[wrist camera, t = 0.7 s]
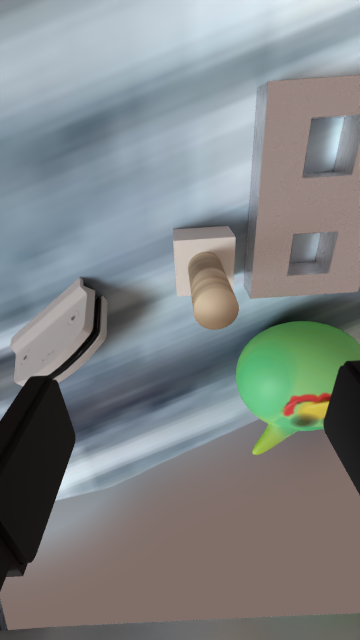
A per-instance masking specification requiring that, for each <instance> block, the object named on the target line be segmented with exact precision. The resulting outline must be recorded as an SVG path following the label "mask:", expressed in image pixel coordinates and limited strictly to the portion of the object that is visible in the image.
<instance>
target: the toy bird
mask: <svg viewBox="0 0 360 640" xmlns="http://www.w3.org/2000/svg"><path fill="white" fill-rule="evenodd" d="M355 360H360V344H359V343H358V342H357V341H356V340H355V339H354V338H352V337H351V336H350V335H348V334H347V333H345V332H344V331H342V330H340V329H338V328H335V327H333V326H330V325H327V324H323V323H318V322H310V321H295V322H287V323H283V324H279V325H276V326H273V327H270V328H268V329H266V330H264V331H262V332H261V333H259V334H258V335H256V336H255V337H254V338H253V339H252V340H250V342H249V343H248V344H247V345H246V346H245V348H244V349H243V351H242V353H241V355H240V357H239V360H238V363H237V368H236V382H237V387H238V391H239V394H240V396H241V398H242V400H243V402H244V403H245V405H246V406H247V407H248V409H249V410H250V411H251V412H252V413H253V414H254V415H256V416H257V417H258V418H260V419H261V420H263V421H264V422H266V423H268V426H267V428H266V429H265V431H264V432H263V434H262V436H261V437H260V438H259V440H258V441H257V443H256V445H255V447H254V448H253V451H252V452H253V454H255V455H259V454H262V453H264V452H266V451H267V450H269V449H271V448H272V447H274V446H275V445H277V444H278V443H280V442H281V441H283V440H284V439H286V438H287V437H289V436H290V435H292V434H293V433H295V432H297V431H310V430H318V429H324V426H323V422H324V418H325V415H326V411H327V408H328V404H329V401H330V398H331V394H332V391H333V387H334V384H335V380H336V377H337V374H338V370H339V368H340V366H343V365H344V363H345V362H346V361H355Z"/></svg>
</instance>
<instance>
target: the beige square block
mask: <svg viewBox="0 0 360 640" xmlns="http://www.w3.org/2000/svg"><path fill="white" fill-rule="evenodd" d="M235 241H236V237H235V235H234V234H233V232H232V231H231V229H230V228H229V226H217V227H201V228H186V229H173V244H174V258H175V273H176V287H177V296H191V289H190V281H189V274H188V265H189V262H190V260H191V259H192V258H193V257H194V256H195V255H197V254H199V253H202V252H210V253H213V254H215V255H216V256H217V257H218V258H219V259H220V261H221V264H222V266H223V268H224V271H225V273H226V276H227V278H228V280H229V283H230V285H231V288H232V290H233V284H234V263H235Z"/></svg>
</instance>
